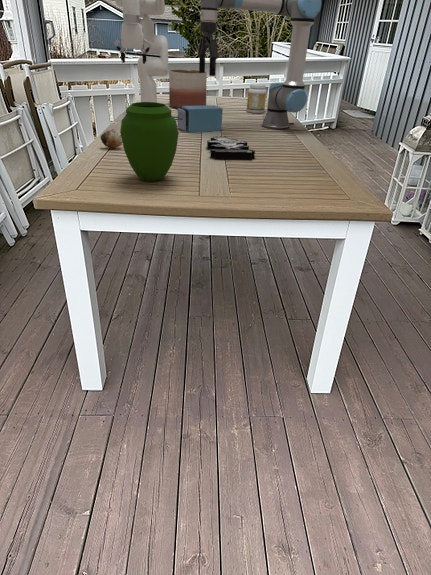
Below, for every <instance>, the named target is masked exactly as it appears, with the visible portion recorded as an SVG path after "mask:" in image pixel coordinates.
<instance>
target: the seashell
mask: <svg viewBox="0 0 431 575" xmlns="http://www.w3.org/2000/svg"><path fill="white" fill-rule="evenodd" d="M100 140H101V143H102V144H103V145H104V146H105V147H107V148H110V149H116V148H119V147H120V146H122V145H123V142H122V138H121V134H119V133H118V132H117V131H116V129H114V128H112V129H109V130H106V131H104V132H103V133H102V134H101V135H100Z"/></svg>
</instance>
